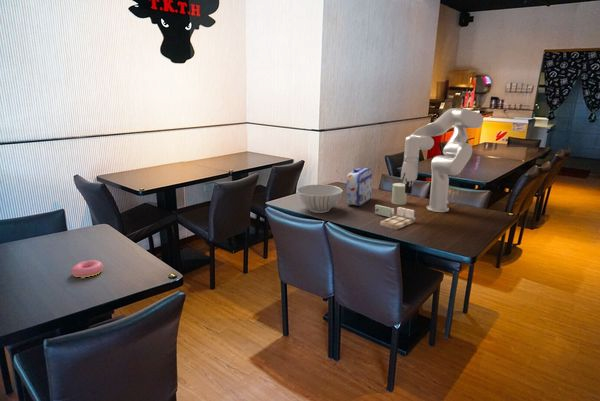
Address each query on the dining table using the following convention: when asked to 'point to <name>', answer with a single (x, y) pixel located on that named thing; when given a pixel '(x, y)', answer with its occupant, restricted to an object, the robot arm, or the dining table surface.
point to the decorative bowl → (319, 197)
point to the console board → (397, 222)
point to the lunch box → (359, 186)
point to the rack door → (383, 210)
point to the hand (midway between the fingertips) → (408, 193)
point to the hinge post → (392, 212)
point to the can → (399, 194)
